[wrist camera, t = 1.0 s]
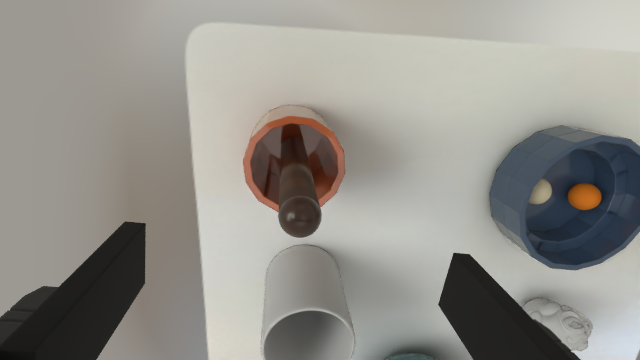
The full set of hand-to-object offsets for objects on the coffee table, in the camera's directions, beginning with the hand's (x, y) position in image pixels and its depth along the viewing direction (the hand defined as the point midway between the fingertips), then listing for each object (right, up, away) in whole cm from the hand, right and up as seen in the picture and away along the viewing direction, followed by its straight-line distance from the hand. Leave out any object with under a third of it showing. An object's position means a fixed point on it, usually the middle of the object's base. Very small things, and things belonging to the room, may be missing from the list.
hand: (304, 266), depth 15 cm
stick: (-2, +7, +21) cm, 22 cm away
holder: (-2, +7, +21) cm, 23 cm away
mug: (-1, -9, +27) cm, 29 cm away
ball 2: (+30, +2, +24) cm, 38 cm away
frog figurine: (+28, -13, +31) cm, 44 cm away
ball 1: (+24, +3, +23) cm, 34 cm away
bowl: (+27, +3, +26) cm, 37 cm away
